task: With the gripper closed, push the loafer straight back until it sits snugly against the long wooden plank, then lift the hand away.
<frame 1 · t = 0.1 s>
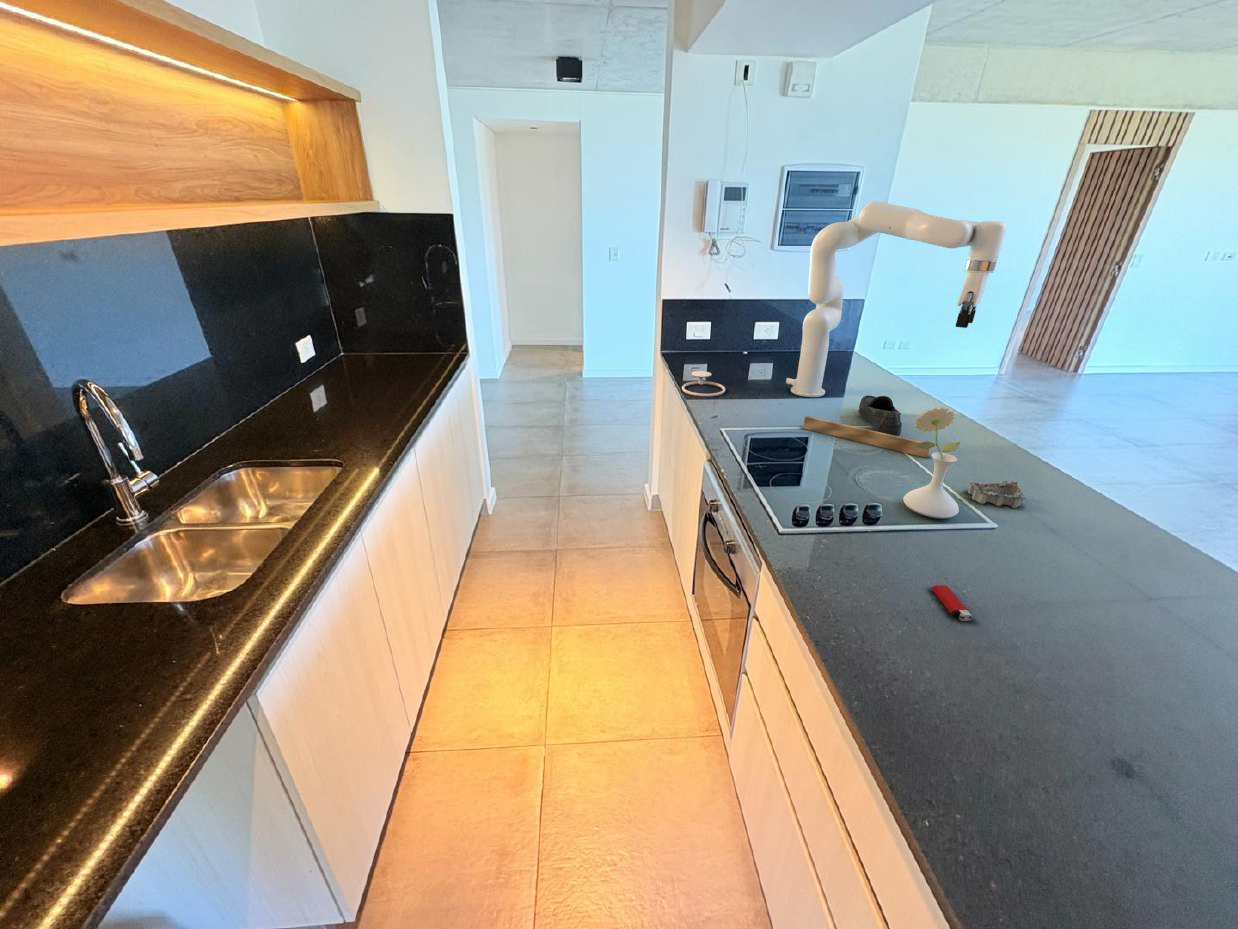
hand: (963, 324, 165), 31 cm above the worktop, tool pointing down, fingers open, 9 cm apart
egg carton: (993, 500, 128), on the worktop
lighter: (950, 606, 94), on the worktop
flower in vase: (924, 510, 124), on the worktop
loafer: (878, 425, 173), on the worktop
hand towel holder: (702, 389, 208), on the worktop
long wooden plank: (861, 441, 160), on the worktop
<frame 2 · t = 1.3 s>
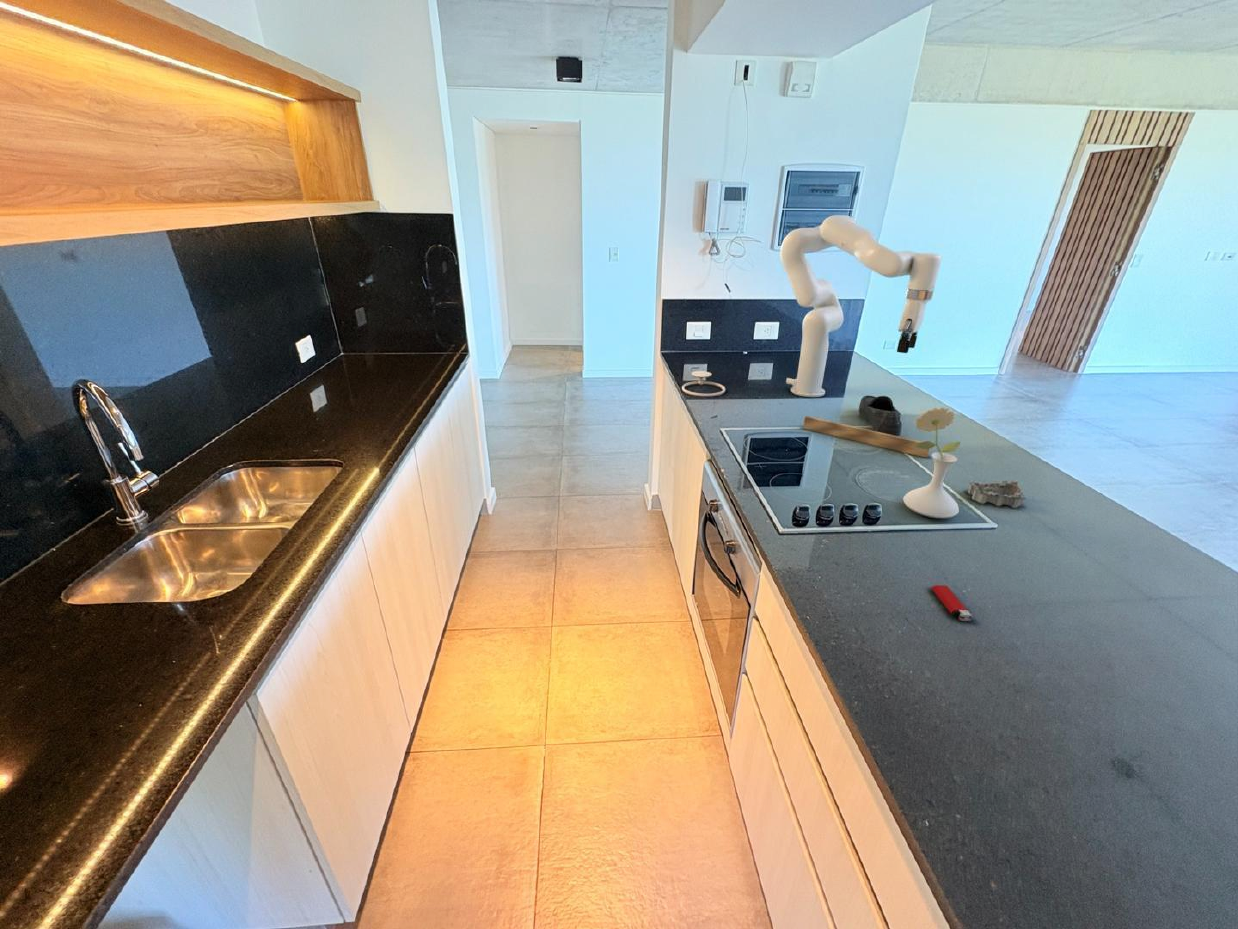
hand: (905, 349, 174), 22 cm above the worktop, tool pointing down, fingers open, 8 cm apart
nothing on the worktop moved.
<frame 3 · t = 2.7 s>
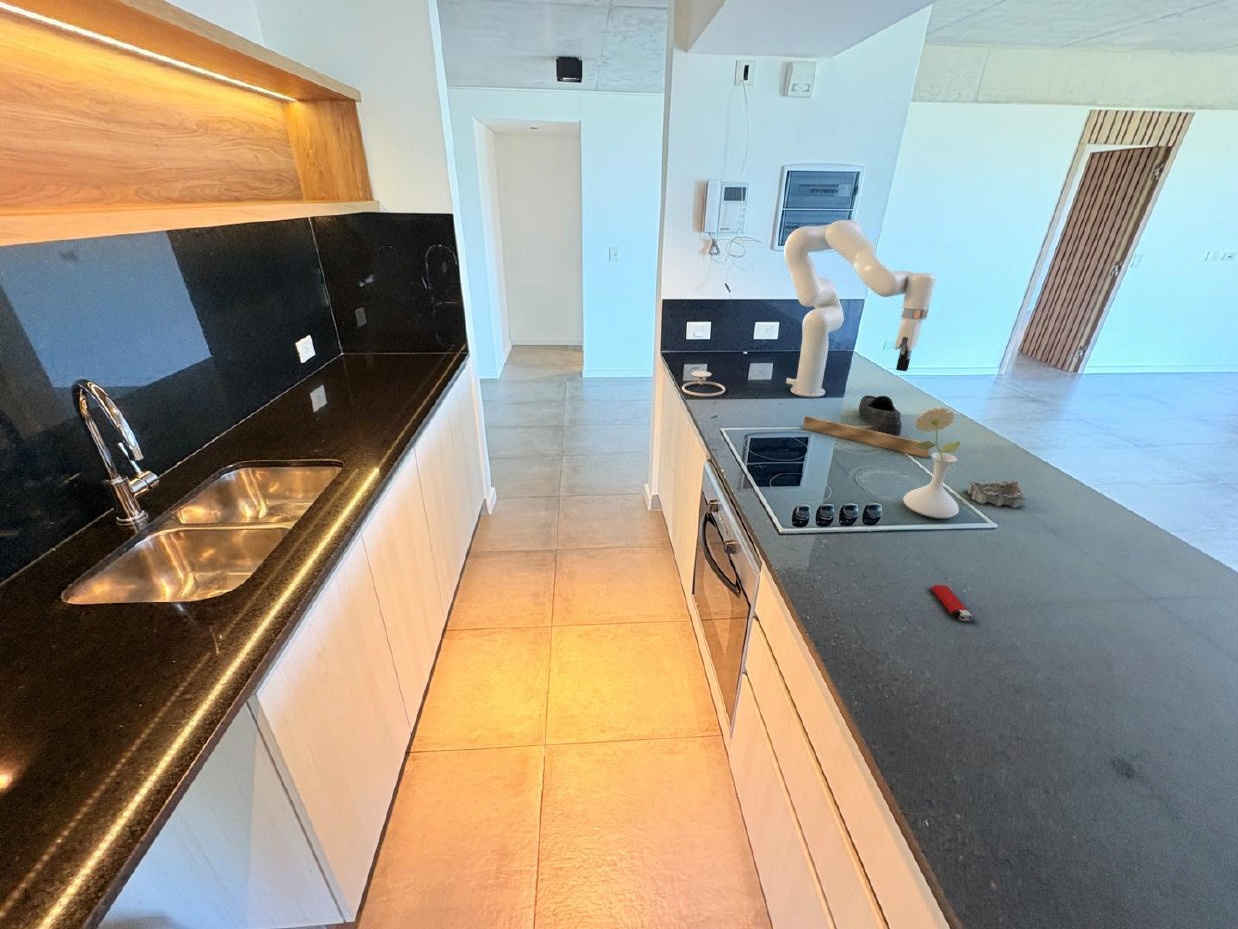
hand: (901, 370, 176), 15 cm above the worktop, tool pointing down, fingers closed
nothing on the worktop moved.
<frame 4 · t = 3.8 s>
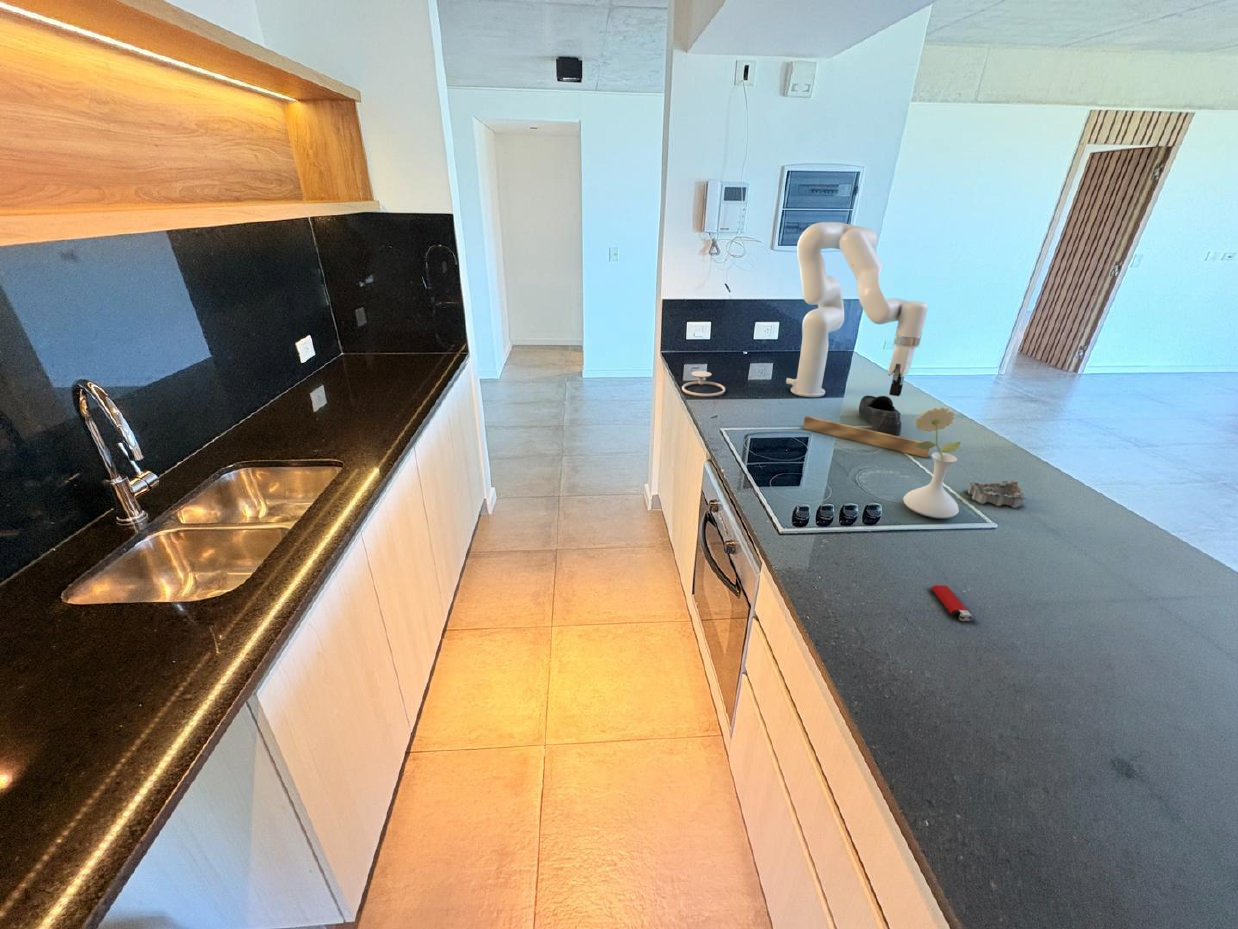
hand: (894, 394, 180), 7 cm above the worktop, tool pointing down, fingers closed
nothing on the worktop moved.
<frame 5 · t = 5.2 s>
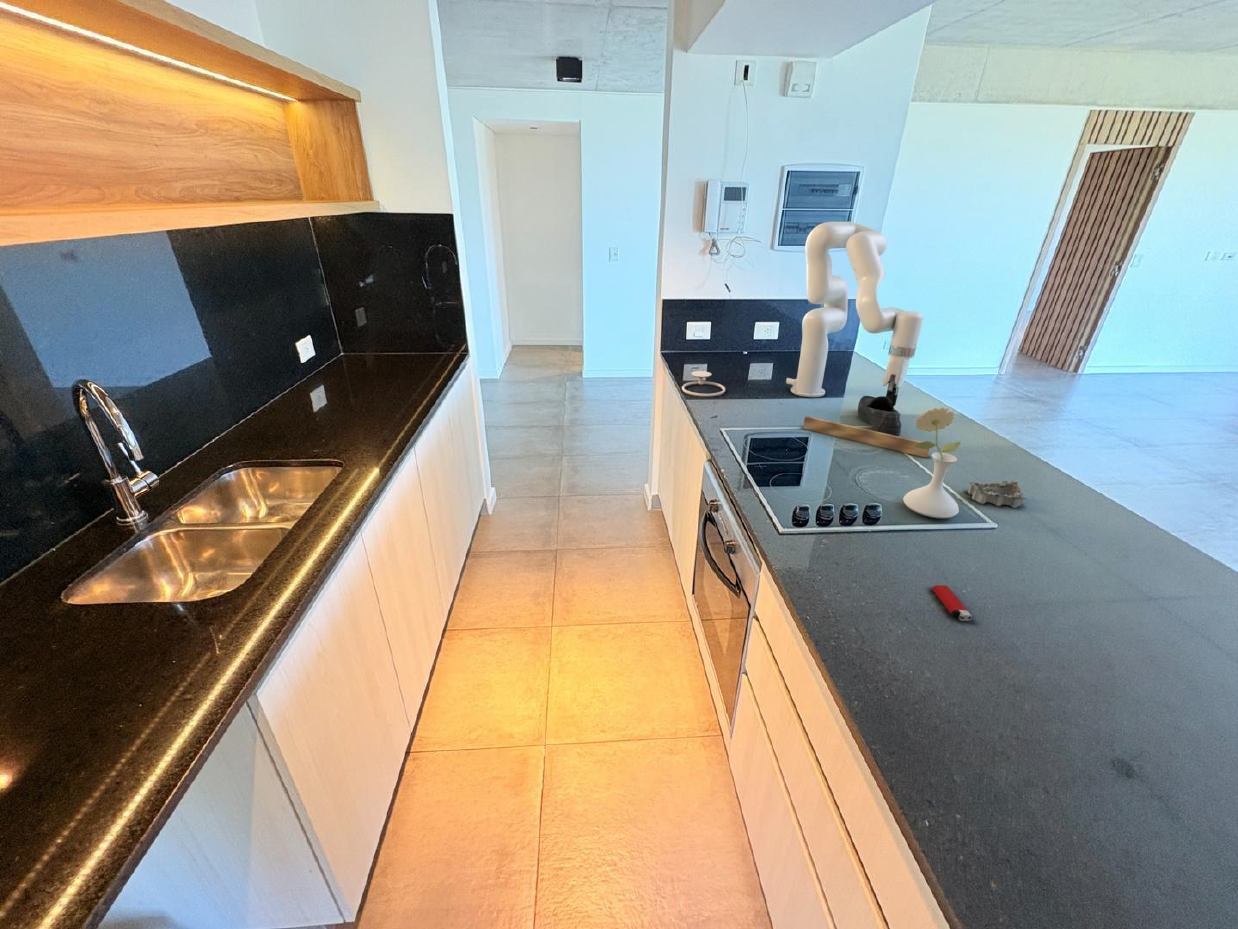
hand: (889, 405, 178), 4 cm above the worktop, tool pointing down, fingers closed
nothing on the worktop moved.
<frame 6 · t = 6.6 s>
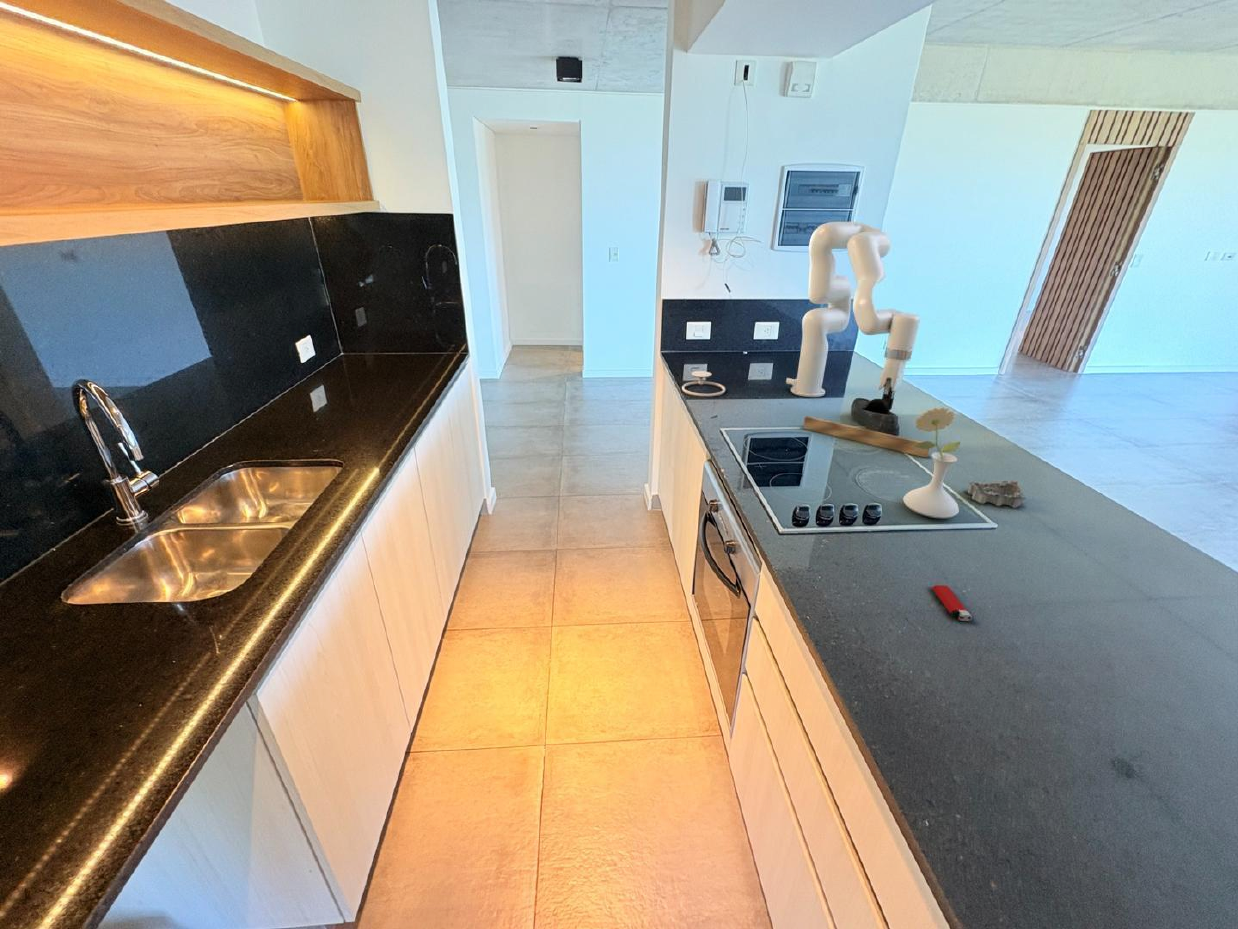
hand: (885, 409, 174), 4 cm above the worktop, tool pointing down, fingers closed
loafer: (872, 428, 171), on the worktop, touching gripper
everything else where it was.
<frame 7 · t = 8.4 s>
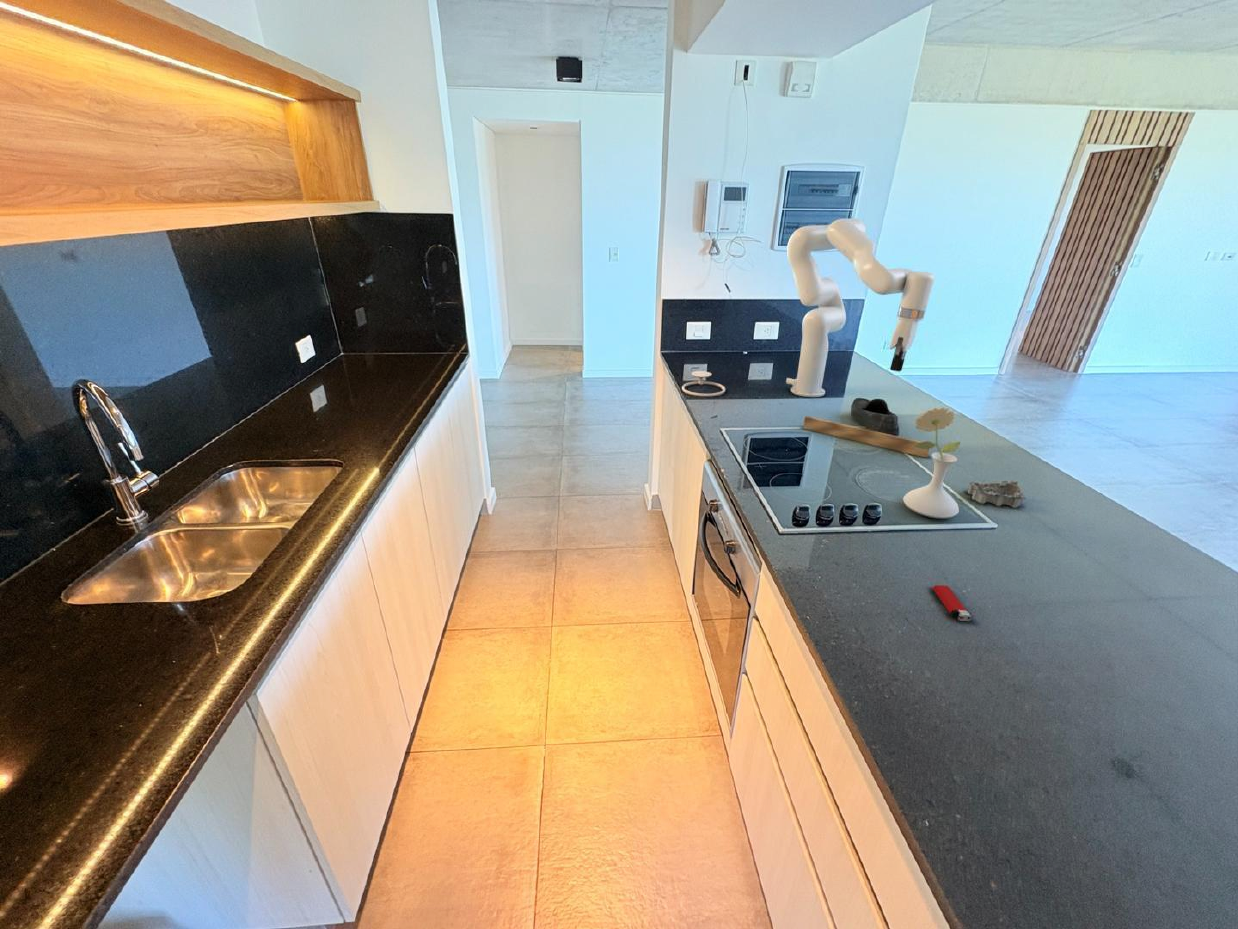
hand: (895, 370, 174), 16 cm above the worktop, tool pointing down, fingers closed
loafer: (872, 428, 171), on the worktop
everything else where it was.
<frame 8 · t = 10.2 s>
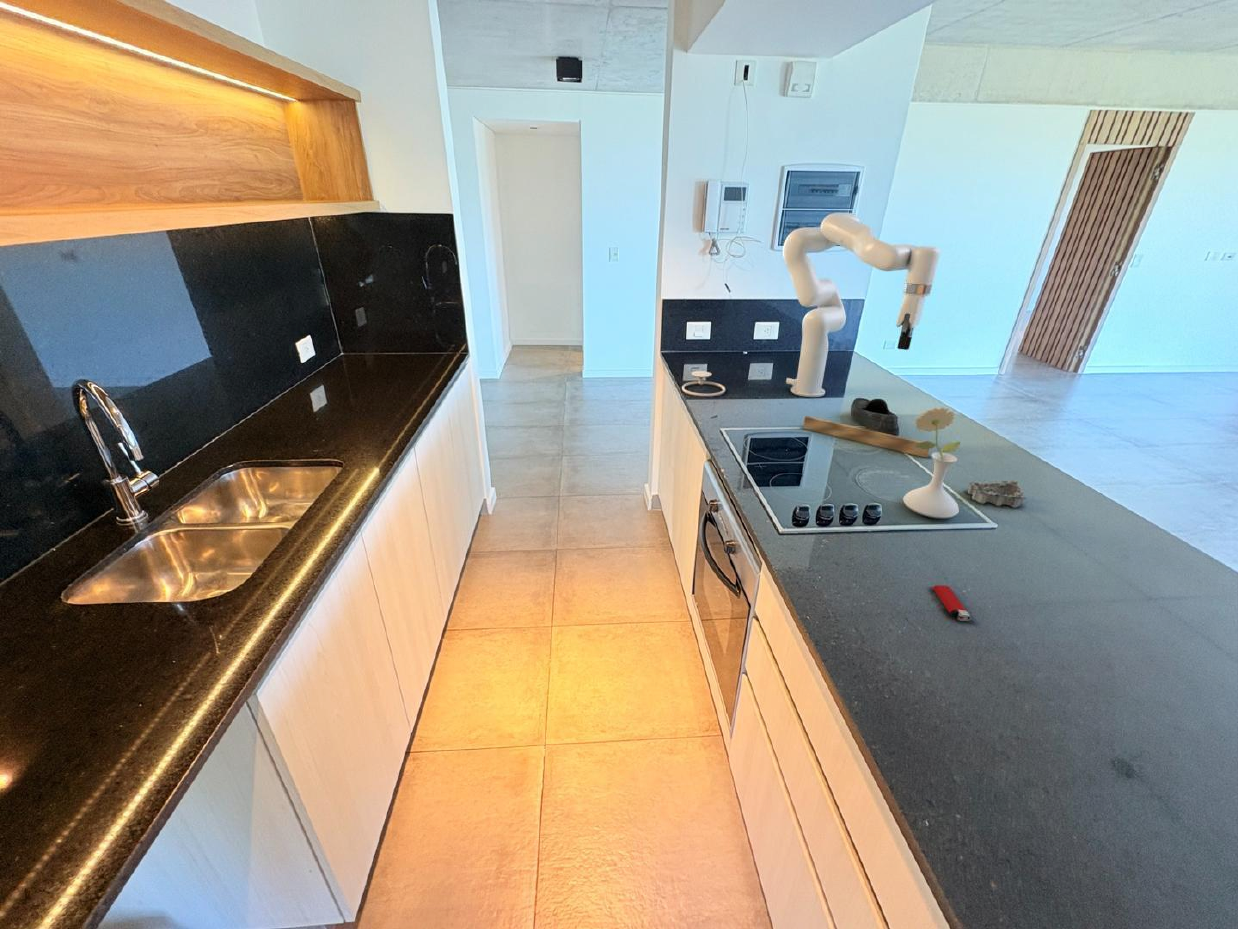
hand: (903, 348, 171), 23 cm above the worktop, tool pointing down, fingers closed
nothing on the worktop moved.
at the end: loafer inside the target area on the worktop beside the long wooden plank (1.6 cm from its centre), on the worktop; loafer moved 4.1 cm from its start; loafer tilted 0° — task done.
